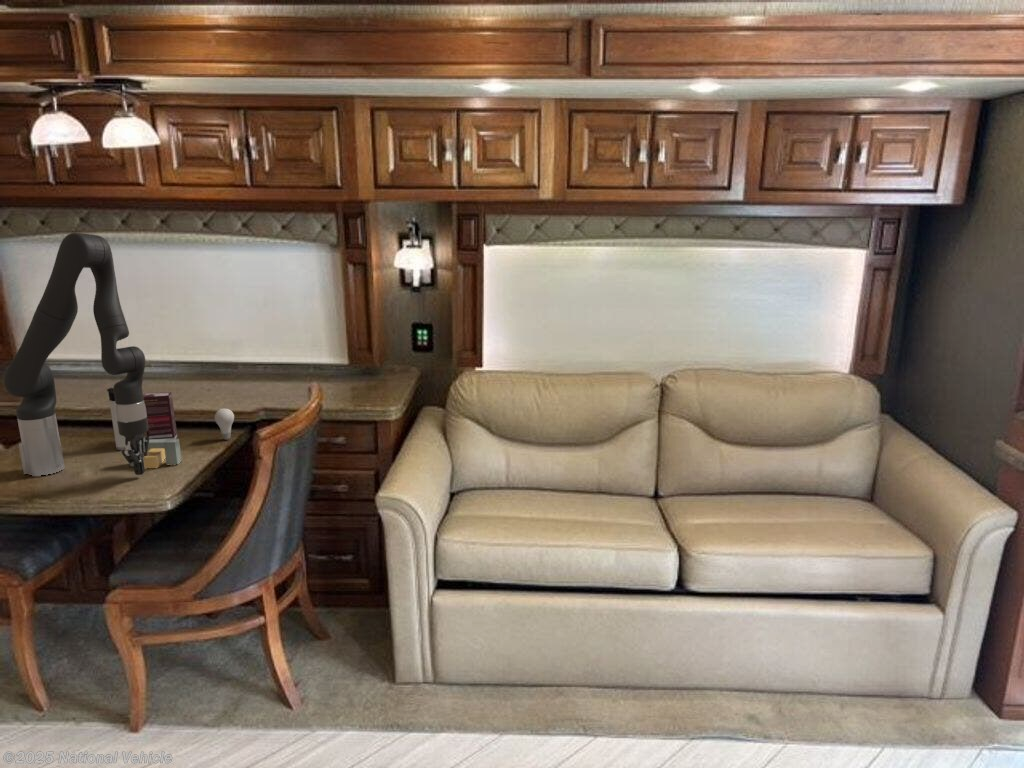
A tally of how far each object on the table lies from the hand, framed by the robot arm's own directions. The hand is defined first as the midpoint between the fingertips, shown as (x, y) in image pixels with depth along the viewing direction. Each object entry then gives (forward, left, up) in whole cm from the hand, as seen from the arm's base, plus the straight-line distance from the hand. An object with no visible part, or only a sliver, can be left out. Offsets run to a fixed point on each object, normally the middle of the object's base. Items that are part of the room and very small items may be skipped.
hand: (140, 473), depth 197 cm
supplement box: (-8, +35, -2) cm, 36 cm away
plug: (-1, +14, -1) cm, 14 cm away
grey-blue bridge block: (0, +11, -1) cm, 11 cm away
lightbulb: (+14, +33, -2) cm, 36 cm away
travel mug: (-16, +27, -2) cm, 32 cm away
